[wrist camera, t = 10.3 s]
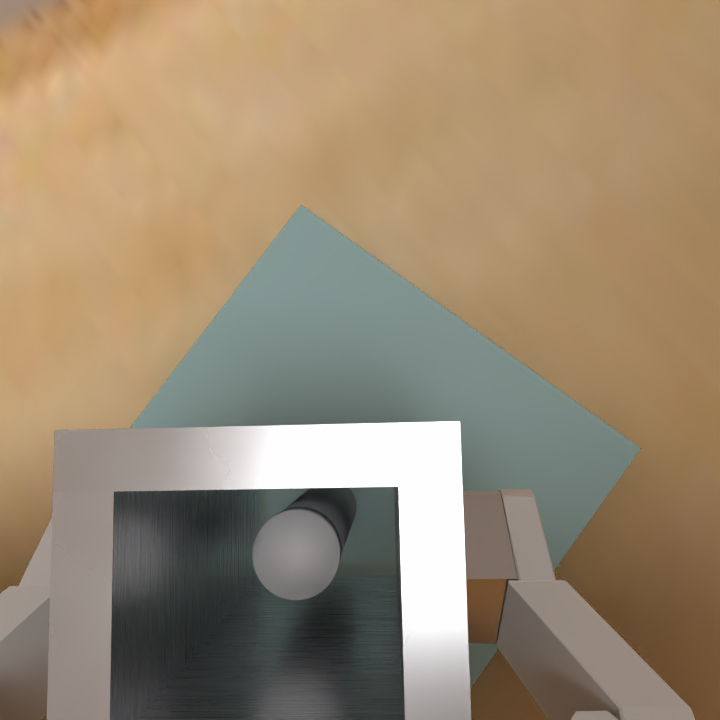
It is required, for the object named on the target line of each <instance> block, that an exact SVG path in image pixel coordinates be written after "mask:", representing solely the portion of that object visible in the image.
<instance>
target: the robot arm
mask: <svg viewBox="0 0 720 720" xmlns="http://www.w3.org/2000/svg"><path fill="white" fill-rule="evenodd" d="M463 516H464V542H465V568H466V594H467V621H468V643H480V644H497V646H496V647H497V648H498V649H499V651H500V652H501V654H502V655H503V657H504V658H505V659H506V661H507V662H508V664H509V665H510V666H511V668H512V669H513V671H514V672H515V674H516V675H517V676H518V678H519V679H520V681H521V682H522V683H523V685H524V686H525V688H526V689H527V691H528V692H529V693H530V695H531V696H532V698H533V699H534V700H535V702H536V703H537V705H538V706H539V708H540V709H541V710H542V712H543V713H544V715H545V716H546V718H547V719H548V720H695V717H694V715H693V712H692V709H691V708H690V707H689V706H688V705H687V704H686V703H685V702H684V701H683V700H682V699H681V698H680V697H679V696H678V695H677V694H676V693H675V692H674V691H673V689H672V688H671V687H670V686H669V685H668V684H667V683H666V682H665V681H664V680H663V679H662V678H661V677H660V676H659V675H658V674H657V673H656V672H655V671H654V670H653V669H652V668H651V667H650V666H649V665H648V664H647V663H646V662H645V661H644V660H643V659H642V658H641V657H640V656H639V655H638V654H637V653H636V652H635V651H634V650H633V649H632V648H631V647H630V646H629V645H628V643H627V642H626V641H625V640H624V639H623V638H622V637H621V636H620V635H619V634H618V633H617V632H616V631H615V630H614V629H613V628H612V627H611V626H610V625H609V624H608V623H607V622H606V621H605V620H604V619H603V618H602V617H601V616H600V615H599V614H598V613H597V612H596V611H595V610H594V609H593V608H592V607H591V606H590V605H589V604H588V603H587V602H586V601H585V600H584V599H583V597H582V596H581V595H580V594H579V593H578V592H577V591H576V590H575V589H574V588H573V587H572V586H571V585H570V584H569V583H568V582H567V581H566V580H556V579H555V575H554V571H553V567H552V563H551V559H550V555H549V551H548V547H547V543H546V539H545V535H544V531H543V527H542V523H541V519H540V515H539V511H538V507H537V503H536V499H535V495H534V493H533V492H532V491H531V489H500V490H498V489H472V490H463ZM51 541H52V517H51V520H50V522H49V524H48V526H47V528H46V530H45V532H44V534H43V536H42V538H41V540H40V542H39V544H38V546H37V548H36V550H35V552H34V555H33V557H32V559H31V561H30V563H29V565H28V567H27V569H26V571H25V573H24V575H23V577H22V579H21V581H20V583H19V585H18V586H9V587H8V588H6V589H5V590H4V591H3V592H2V593H0V720H42V719H43V718H44V717H45V716H46V715H47V689H48V652H49V615H50V578H51Z"/></svg>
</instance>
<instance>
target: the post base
mask: <svg viewBox="0 0 720 720" xmlns="http://www.w3.org/2000/svg"><path fill="white" fill-rule="evenodd" d="M453 421H460V437H461V463H462V489H463V490H472V489H498V490H500V489H531V491H532V492H533V493H534V495H535V499H536V503H537V507H538V511H539V515H540V519H541V523H542V527H543V531H544V535H545V539H546V543H547V547H548V551H549V555H550V559H551V563H552V567H553V571H554V570H555V569H556V568H557V566H558V565H559V563H560V562H561V560H562V559H563V558H564V556H565V555H566V553H567V552H568V551H569V549H570V548H571V546H572V545H573V544H574V542H575V541H576V539H577V538H578V537H579V535H580V534H581V532H582V531H583V529H584V528H585V527H586V525H587V524H588V522H589V521H590V520H591V518H592V517H593V515H594V514H595V513H596V511H597V510H598V508H599V507H600V506H601V504H602V503H603V501H604V500H605V498H606V497H607V496H608V494H609V493H610V491H611V490H612V489H613V487H614V486H615V484H616V483H617V482H618V480H619V479H620V477H621V476H622V474H623V473H624V472H625V470H626V469H627V467H628V466H629V465H630V463H631V462H632V460H633V459H634V458H635V456H636V455H637V453H638V452H639V451H640V449H641V448H640V447H638V446H637V445H636V444H634V443H633V442H631V441H630V440H629V439H627V438H626V437H624V436H623V435H622V434H620V433H619V432H617V431H616V430H615V429H613V428H612V427H610V426H609V425H608V424H606V423H605V422H604V421H602V420H601V419H599V418H598V417H597V416H595V415H594V414H592V413H591V412H590V411H588V410H587V409H585V408H584V407H583V406H581V405H580V404H578V403H577V402H576V401H574V400H573V399H571V398H570V397H569V396H567V395H566V394H564V393H563V392H562V391H560V390H559V389H557V388H556V387H555V386H553V385H552V384H550V383H549V382H548V381H546V380H545V379H544V378H542V377H541V376H539V375H538V374H537V373H535V372H534V371H532V370H531V369H530V368H528V367H527V366H525V365H524V364H523V363H521V362H520V361H518V360H517V359H516V358H514V357H513V356H511V355H510V354H509V353H507V352H506V351H504V350H503V349H502V348H500V347H499V346H497V345H496V344H495V343H493V342H492V341H490V340H489V339H488V338H486V337H485V336H483V335H482V334H481V333H479V332H478V331H477V330H475V329H474V328H472V327H471V326H470V325H468V324H467V323H465V322H464V321H463V320H461V319H460V318H458V317H457V316H456V315H454V314H453V313H451V312H450V311H449V310H447V309H446V308H444V307H443V306H442V305H440V304H439V303H437V302H436V301H435V300H433V299H432V298H430V297H429V296H428V295H426V294H425V293H423V292H422V291H421V290H419V289H418V288H417V287H415V286H414V285H412V284H411V283H410V282H408V281H407V280H405V279H404V278H403V277H401V276H400V275H398V274H397V273H396V272H394V271H393V270H391V269H390V268H389V267H387V266H386V265H384V264H383V263H382V262H380V261H379V260H377V259H376V258H375V257H373V256H372V255H370V254H369V253H368V252H366V251H365V250H363V249H362V248H361V247H359V246H358V245H356V244H355V243H354V242H352V241H351V240H350V239H348V238H347V237H345V236H344V235H343V234H341V233H340V232H338V231H337V230H336V229H334V228H333V227H331V226H330V225H329V224H327V223H326V222H324V221H323V220H322V219H320V218H319V217H317V216H316V215H315V214H313V213H312V212H310V211H309V210H308V209H306V208H305V207H303V206H302V205H300V207H299V208H298V209H297V211H296V212H295V213H294V215H293V216H292V217H291V219H290V220H289V221H288V222H287V224H286V225H285V226H284V228H283V229H282V230H281V232H280V233H279V234H278V236H277V237H276V238H275V239H274V241H273V242H272V243H271V245H270V246H269V247H268V249H267V250H266V251H265V253H264V254H263V255H262V256H261V258H260V259H259V260H258V262H257V263H256V264H255V266H254V267H253V268H252V270H251V271H250V272H249V273H248V275H247V276H246V277H245V279H244V280H243V281H242V283H241V284H240V285H239V287H238V288H237V289H236V290H235V292H234V293H233V294H232V296H231V297H230V298H229V300H228V301H227V302H226V304H225V305H224V306H223V307H222V309H221V310H220V311H219V313H218V314H217V315H216V317H215V318H214V319H213V321H212V322H211V323H210V324H209V326H208V327H207V328H206V330H205V331H204V332H203V334H202V335H201V336H200V337H199V339H198V340H197V341H196V343H195V344H194V345H193V347H192V348H191V349H190V351H189V352H188V353H187V354H186V356H185V357H184V358H183V360H182V361H181V362H180V364H179V365H178V366H177V368H176V369H175V370H174V371H173V373H172V374H171V375H170V377H169V378H168V379H167V381H166V382H165V383H164V385H163V386H162V387H161V388H160V390H159V391H158V392H157V394H156V395H155V396H154V398H153V399H152V400H151V402H150V403H149V404H148V405H147V407H146V408H145V409H144V411H143V412H142V413H141V415H140V416H139V417H138V419H137V420H136V421H135V422H134V424H133V425H132V426H131V428H130V429H139V428H183V427H228V426H273V425H318V424H363V423H408V422H453ZM33 555H34V554H33ZM252 556H253V565H254V569H255V572H256V574H257V576H258V578H259V580H260V581H261V583H262V584H263V585H264V586H265V587H266V588H267V589H268V590H269V591H270V592H272V593H273V594H275V595H277V596H279V597H281V598H284V599H289V600H303V599H308V598H310V597H313V596H315V595H317V594H319V593H320V592H321V591H323V590H324V589H325V588H326V587H327V586H328V585H329V584H330V582H331V581H332V579H333V578H334V576H335V575H396V548H395V512H394V487H342V488H287V489H259V533H258V535H257V537H256V539H255V542H254V546H253V554H252ZM32 557H33V556H32ZM32 557H31V558H30V560H29V561H28V562H27V564H26V565H29V563H30V561H31V559H32ZM496 646H497V644H480V643H468V647H469V673H470V689H471V687H472V686H473V685H474V683H475V682H476V680H477V679H478V677H479V676H480V675H481V673H482V672H483V670H484V669H485V668H486V666H487V665H488V663H489V662H490V661H491V659H492V658H493V656H494V655H495V654H496V652H497V651H498V648H497V647H496Z"/></svg>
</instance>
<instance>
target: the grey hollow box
mask: <svg viewBox="0 0 720 720" xmlns="http://www.w3.org/2000/svg"><path fill="white" fill-rule="evenodd" d="M342 487H394V512H395V548H396V575H335V576H334V578H333V579H332V581H331V582H330V584H329V585H328V586H327V587H326V588H325V589H324V590H323V591H321V592H320V593H319V594H317V595H315V596H313V597H310V598H308V599H303V600H289V599H284V598H281V597H279V596H277V595H275V594H273V593H272V592H270V591H269V590H268V589H267V588H266V587H265V586H264V585H263V584H262V583H261V581H260V580H259V578H258V576H257V574H256V572H255V569H254V565H253V556H252V554H253V546H254V542H255V539H256V537H257V535H258V533H259V489H287V488H342ZM47 720H471V700H470V673H469V647H468V621H467V594H466V568H465V542H464V516H463V489H462V463H461V437H460V421H453V422H408V423H363V424H318V425H273V426H228V427H183V428H139V429H94V430H54V466H53V504H52V541H51V578H50V615H49V652H48V689H47Z"/></svg>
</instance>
